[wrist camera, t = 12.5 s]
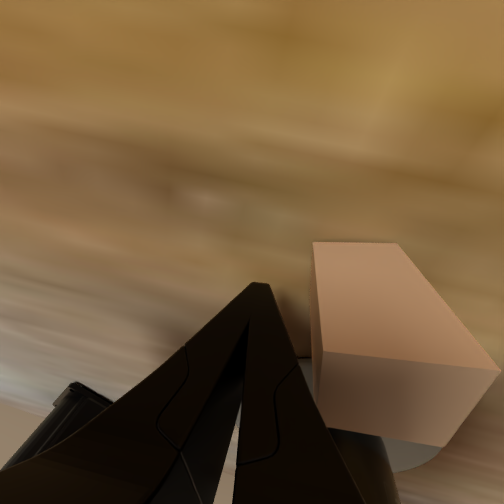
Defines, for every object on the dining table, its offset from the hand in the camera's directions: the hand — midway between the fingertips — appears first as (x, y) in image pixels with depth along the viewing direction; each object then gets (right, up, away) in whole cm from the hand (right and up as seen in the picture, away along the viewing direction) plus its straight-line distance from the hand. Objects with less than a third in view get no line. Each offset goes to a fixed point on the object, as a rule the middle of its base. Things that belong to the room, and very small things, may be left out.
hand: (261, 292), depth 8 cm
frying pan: (+4, -7, +6) cm, 10 cm away
